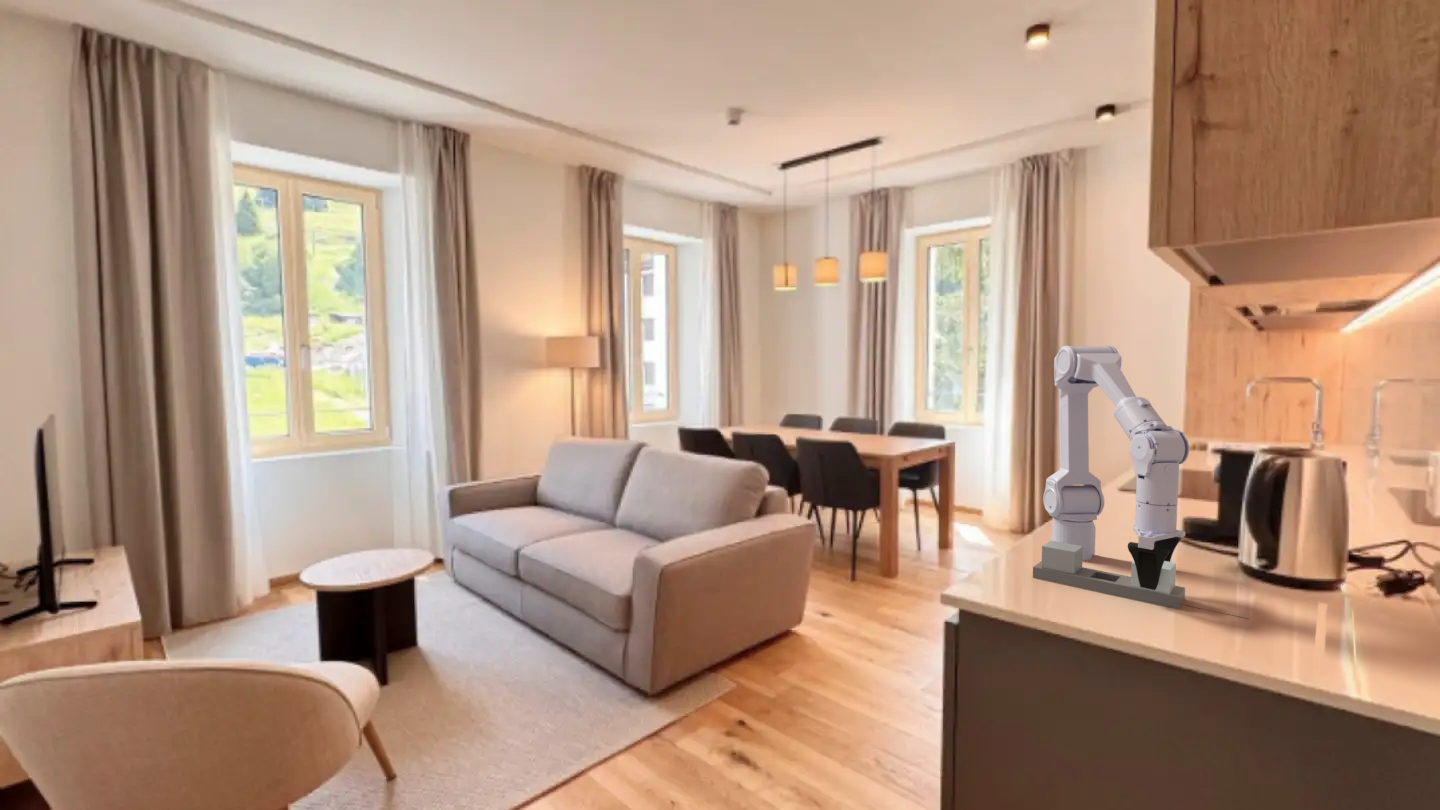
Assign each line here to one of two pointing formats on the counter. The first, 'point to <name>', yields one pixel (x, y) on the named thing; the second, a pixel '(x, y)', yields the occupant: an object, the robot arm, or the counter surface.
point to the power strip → (1097, 577)
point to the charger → (1165, 580)
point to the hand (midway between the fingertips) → (1153, 582)
